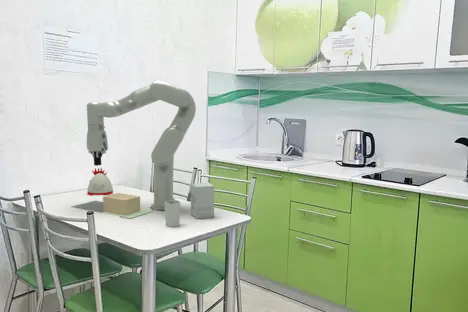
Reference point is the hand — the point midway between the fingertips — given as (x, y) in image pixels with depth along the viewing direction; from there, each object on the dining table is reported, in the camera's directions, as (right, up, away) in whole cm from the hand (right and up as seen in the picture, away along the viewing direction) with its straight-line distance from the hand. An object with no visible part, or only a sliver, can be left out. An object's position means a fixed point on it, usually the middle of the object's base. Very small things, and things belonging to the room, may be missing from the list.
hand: (97, 165), depth 201 cm
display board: (+7, -22, -2) cm, 23 cm away
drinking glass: (+41, -25, -25) cm, 54 cm away
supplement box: (+52, -24, -10) cm, 58 cm away
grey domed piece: (-10, -17, +34) cm, 40 cm away
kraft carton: (+13, -22, -6) cm, 26 cm away
